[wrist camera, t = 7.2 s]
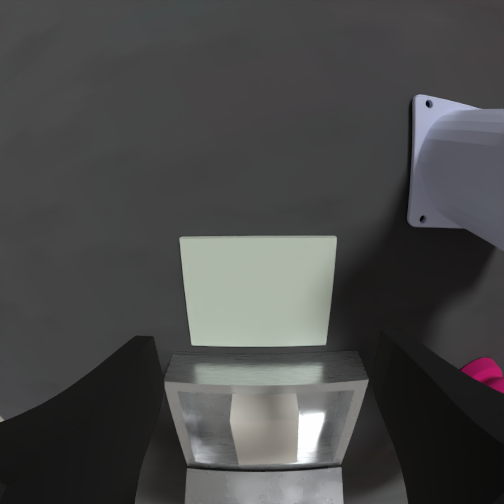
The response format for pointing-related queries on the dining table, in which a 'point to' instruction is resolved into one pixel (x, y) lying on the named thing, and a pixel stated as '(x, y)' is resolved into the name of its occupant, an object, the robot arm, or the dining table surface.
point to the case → (265, 382)
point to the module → (265, 428)
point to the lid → (264, 487)
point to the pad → (258, 289)
